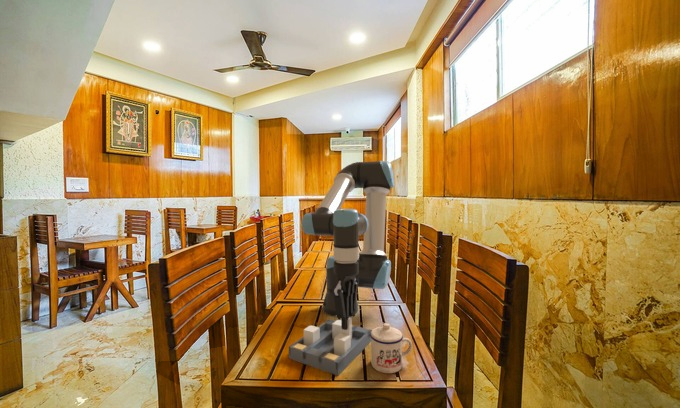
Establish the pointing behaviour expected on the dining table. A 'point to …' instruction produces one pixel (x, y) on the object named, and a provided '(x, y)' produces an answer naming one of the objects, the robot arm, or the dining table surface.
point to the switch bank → (329, 349)
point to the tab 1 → (311, 335)
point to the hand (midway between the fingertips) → (346, 338)
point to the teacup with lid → (387, 349)
